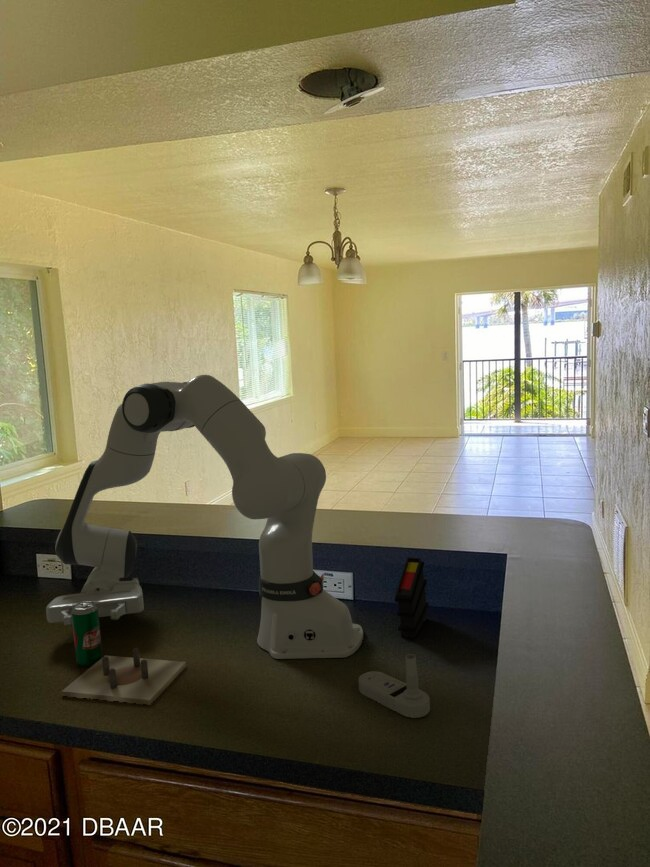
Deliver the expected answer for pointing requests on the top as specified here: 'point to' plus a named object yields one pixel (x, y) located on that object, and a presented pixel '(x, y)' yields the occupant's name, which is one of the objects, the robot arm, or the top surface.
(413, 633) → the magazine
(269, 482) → the robot arm
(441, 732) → the top surface
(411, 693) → the electronic device
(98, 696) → the can tray
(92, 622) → the soda can
